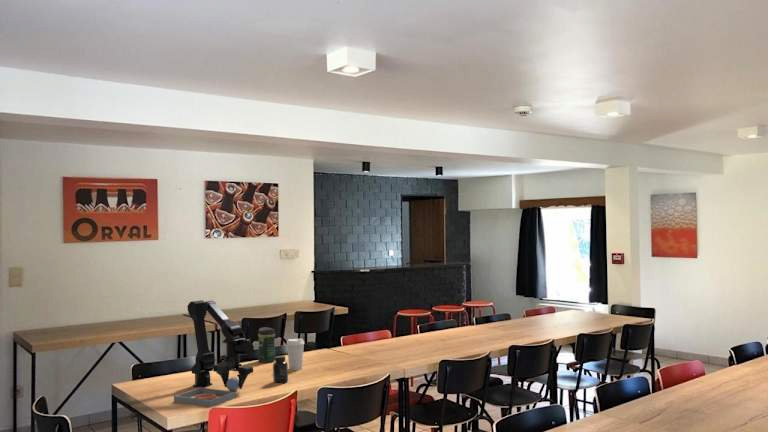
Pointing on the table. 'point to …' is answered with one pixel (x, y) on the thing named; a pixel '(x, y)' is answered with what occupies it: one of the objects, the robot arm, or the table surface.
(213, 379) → the table surface
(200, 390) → the grey rectangular frame
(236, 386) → the ball
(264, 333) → the coffee jar
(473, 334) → the table surface
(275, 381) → the supplement bottle
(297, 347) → the coffee cup
